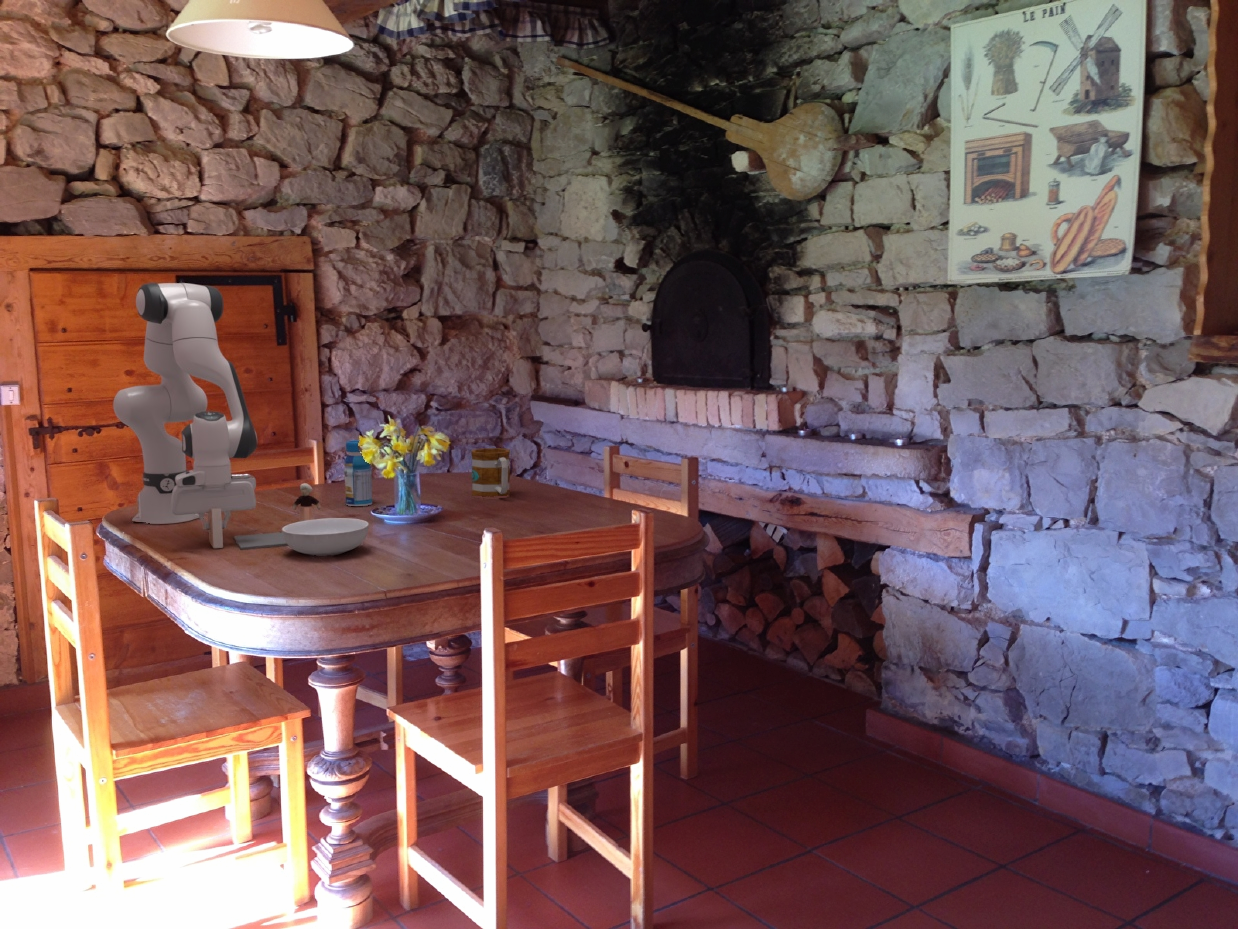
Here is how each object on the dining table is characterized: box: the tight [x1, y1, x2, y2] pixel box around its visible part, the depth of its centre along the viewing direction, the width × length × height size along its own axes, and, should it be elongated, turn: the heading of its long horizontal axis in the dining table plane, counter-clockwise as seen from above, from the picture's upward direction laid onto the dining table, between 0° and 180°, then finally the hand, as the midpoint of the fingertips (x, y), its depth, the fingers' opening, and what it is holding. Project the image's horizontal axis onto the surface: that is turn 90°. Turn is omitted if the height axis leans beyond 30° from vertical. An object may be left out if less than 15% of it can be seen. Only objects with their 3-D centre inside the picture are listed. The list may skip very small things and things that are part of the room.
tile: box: [207, 508, 224, 549], centre depth 266 cm, size 8×2×10 cm, turn 26°
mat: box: [233, 531, 290, 551], centre depth 272 cm, size 15×16×1 cm
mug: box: [470, 447, 511, 497], centre depth 338 cm, size 20×14×15 cm
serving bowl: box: [281, 517, 370, 557], centre depth 260 cm, size 21×21×7 cm
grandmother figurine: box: [292, 482, 322, 522], centre depth 288 cm, size 8×4×13 cm, turn 105°
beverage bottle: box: [343, 439, 373, 507], centre depth 323 cm, size 8×8×20 cm
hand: (215, 529), depth 266 cm, fingers closed on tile, 2 cm apart
